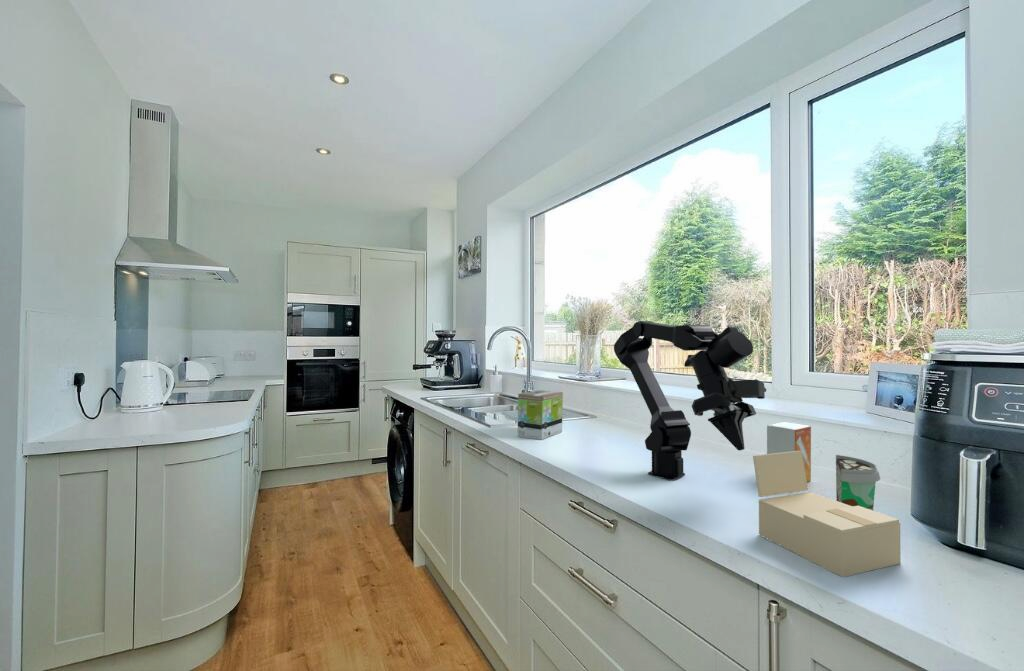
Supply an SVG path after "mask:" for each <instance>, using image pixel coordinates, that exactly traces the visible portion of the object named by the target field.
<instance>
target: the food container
mask: <svg viewBox="0 0 1024 671" xmlns="http://www.w3.org/2000/svg"><path fill="white" fill-rule="evenodd" d="M835 470H836V471H835V477H836V479H835V480H836V482H835V483H836V486H835V487H836V488H835V489H836V491H835V492H836V501H838V502H841V503H844V504H847V505H850V506H861V507H864V508H867V509H870V510H873V511H874V505H875V494H876V493H875V492H876V482H878V481H880V480H881V476H880V471H879V470H878V468H877V466H876V464H874V463H873V462H871V461H867V460H865V459H861V458H857V457H854V456H853V457H852V456H847V455H841V454H836V455H835Z"/></svg>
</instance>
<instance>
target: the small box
mask: <svg viewBox="0 0 1024 671" xmlns="http://www.w3.org/2000/svg"><path fill="white" fill-rule="evenodd" d="M792 451H802V455H803V461H804V468H805V474H806V480H807V483H808V482H811V481H812V479H811V478H812V474H811V473H812V462H811V461H812V426H811V425H806V424H799V423H794V422H787V421H782V422H777V423H773V424H768V425H767V426H766V454H773V453H783V452H792Z"/></svg>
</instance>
